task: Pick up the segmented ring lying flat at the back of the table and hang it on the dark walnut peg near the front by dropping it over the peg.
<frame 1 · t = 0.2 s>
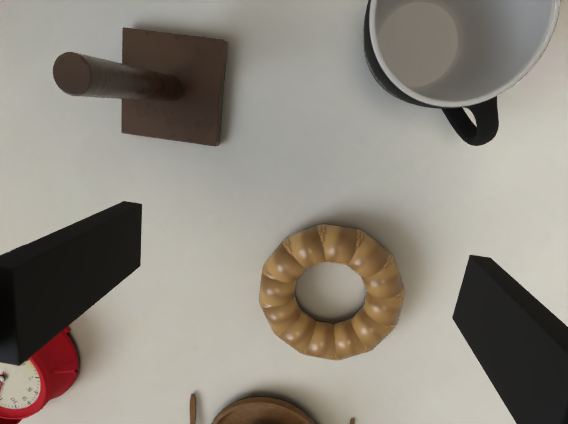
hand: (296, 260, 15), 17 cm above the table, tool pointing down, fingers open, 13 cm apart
alarm clock: (24, 358, 40), on the table
mug: (422, 65, 29), on the table
segmented ring: (330, 294, 32), point 1 cm above the table
peg: (175, 89, 31), on the table
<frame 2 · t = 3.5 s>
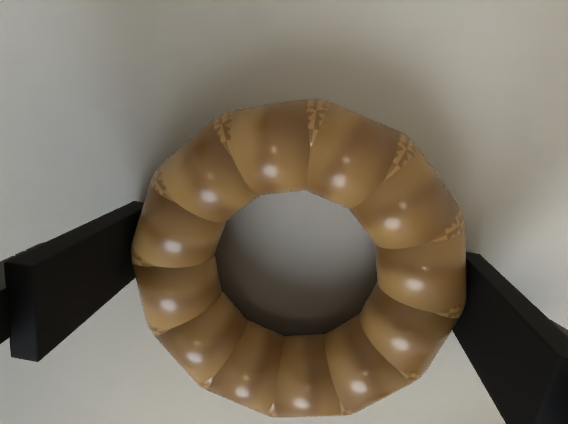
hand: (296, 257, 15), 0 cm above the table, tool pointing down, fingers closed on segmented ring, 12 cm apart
segmented ring: (294, 270, 14), point 1 cm above the table, touching gripper
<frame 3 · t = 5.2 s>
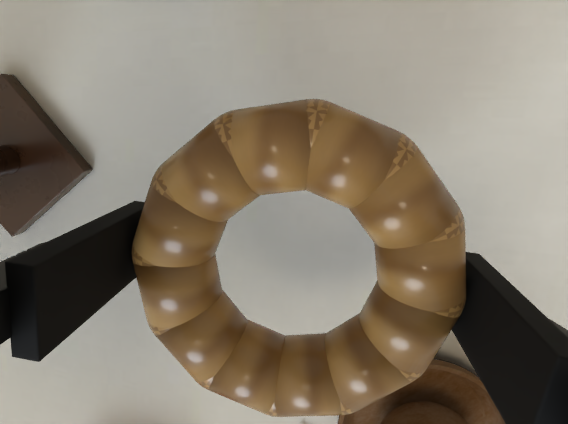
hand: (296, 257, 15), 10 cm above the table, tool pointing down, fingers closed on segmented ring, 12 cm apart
segmented ring: (294, 270, 14), point 12 cm above the table, touching gripper
peg: (18, 158, 27), on the table
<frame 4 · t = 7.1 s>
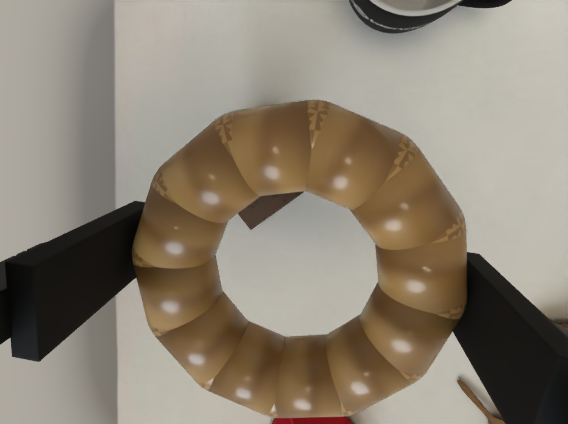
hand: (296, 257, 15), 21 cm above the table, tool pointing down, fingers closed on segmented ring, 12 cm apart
segmented ring: (294, 271, 14), point 22 cm above the table, touching gripper
peg: (259, 170, 36), on the table
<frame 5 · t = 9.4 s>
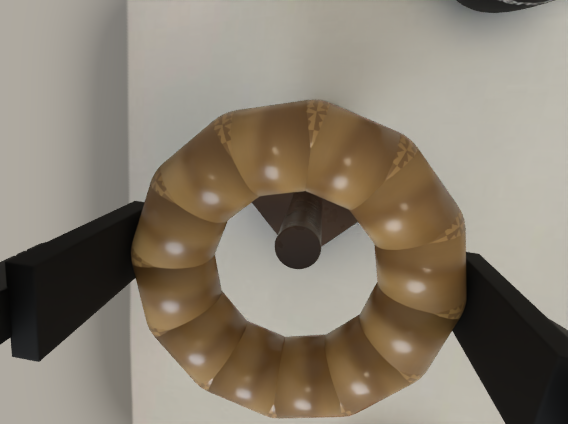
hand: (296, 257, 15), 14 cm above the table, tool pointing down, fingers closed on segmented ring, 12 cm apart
segmented ring: (294, 271, 14), point 15 cm above the table, touching gripper
peg: (309, 188, 29), on the table
when the fingers open (11 cm above the table, at t = 11.0 s): segmented ring drops 10 cm, resting on peg.
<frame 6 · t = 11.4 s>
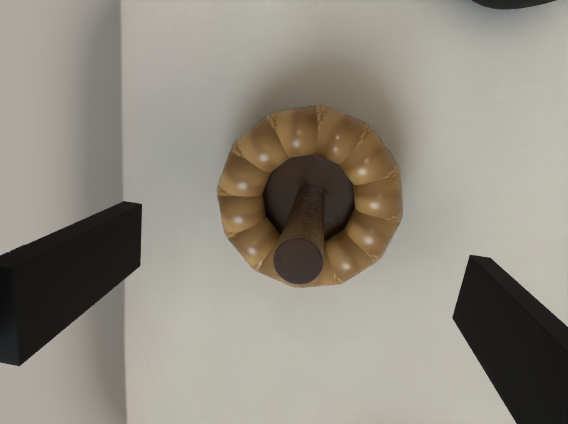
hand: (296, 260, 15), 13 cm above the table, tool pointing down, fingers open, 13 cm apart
segmented ring: (308, 201, 25), point 2 cm above the table, touching peg
peg: (311, 194, 28), on the table
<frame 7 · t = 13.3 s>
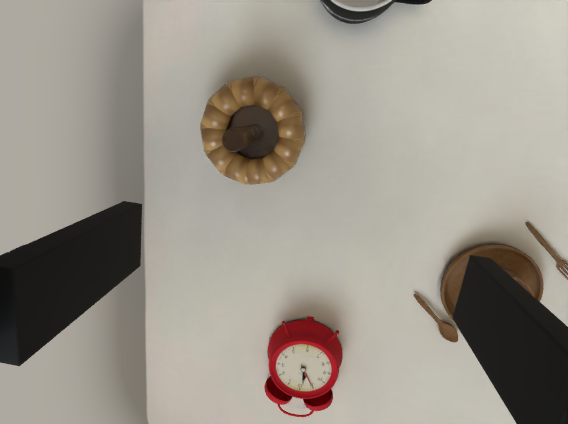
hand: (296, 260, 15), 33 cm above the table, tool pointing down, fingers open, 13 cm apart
alarm clock: (303, 360, 54), on the table
segmented ring: (252, 132, 44), point 2 cm above the table, touching peg
peg: (257, 132, 46), on the table
place setting: (505, 304, 49), on the table
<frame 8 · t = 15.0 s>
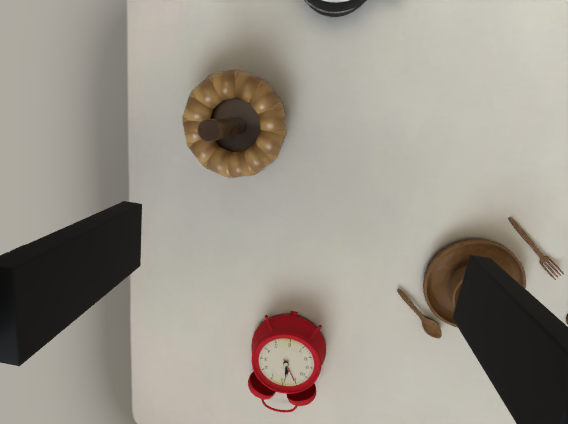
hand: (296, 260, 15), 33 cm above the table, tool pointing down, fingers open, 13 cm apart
alarm clock: (287, 355, 54), on the table
segmented ring: (234, 125, 44), point 2 cm above the table, touching peg
peg: (240, 125, 46), on the table
place setting: (489, 300, 49), on the table
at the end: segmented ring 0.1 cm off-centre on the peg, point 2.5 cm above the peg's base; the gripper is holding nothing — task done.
